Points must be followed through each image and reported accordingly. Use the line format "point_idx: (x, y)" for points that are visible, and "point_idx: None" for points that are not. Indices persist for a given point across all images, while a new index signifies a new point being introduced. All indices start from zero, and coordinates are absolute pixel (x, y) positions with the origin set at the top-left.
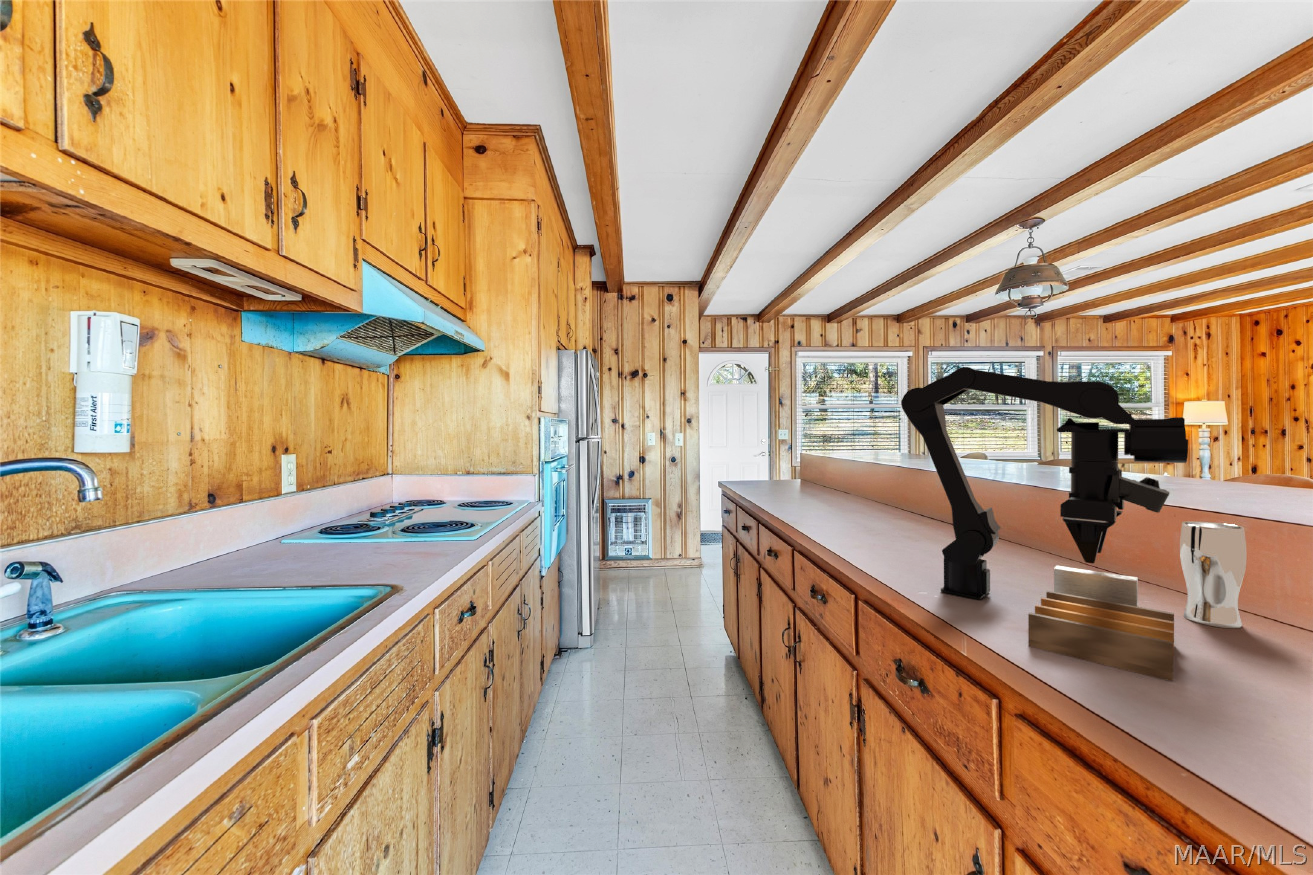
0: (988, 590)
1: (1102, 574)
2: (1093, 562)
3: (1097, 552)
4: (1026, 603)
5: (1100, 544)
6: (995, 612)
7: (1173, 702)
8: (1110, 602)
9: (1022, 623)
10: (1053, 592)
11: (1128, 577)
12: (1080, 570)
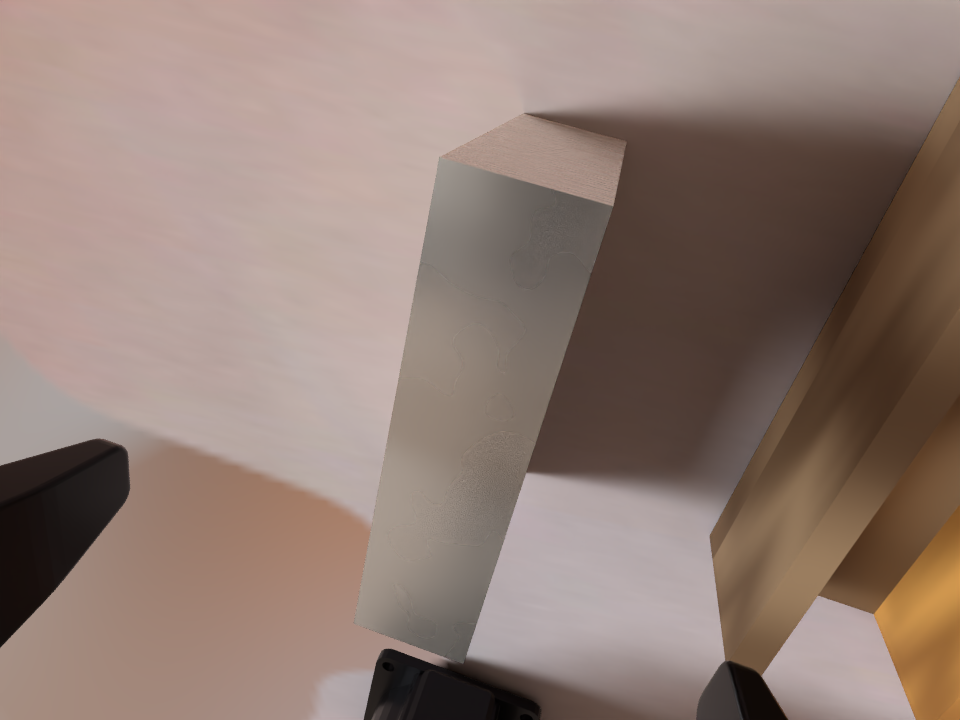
0: (456, 690)
1: (482, 421)
2: (760, 680)
3: (123, 464)
4: None
5: (42, 506)
6: (701, 692)
7: None
8: (914, 410)
9: (836, 642)
10: (761, 649)
11: (483, 242)
12: (427, 530)
